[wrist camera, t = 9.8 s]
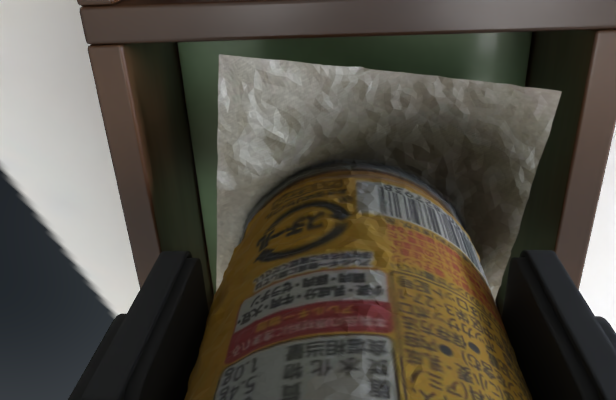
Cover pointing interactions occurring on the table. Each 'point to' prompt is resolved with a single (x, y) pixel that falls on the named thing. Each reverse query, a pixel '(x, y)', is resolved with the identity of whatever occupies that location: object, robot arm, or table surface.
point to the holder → (350, 53)
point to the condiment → (365, 233)
